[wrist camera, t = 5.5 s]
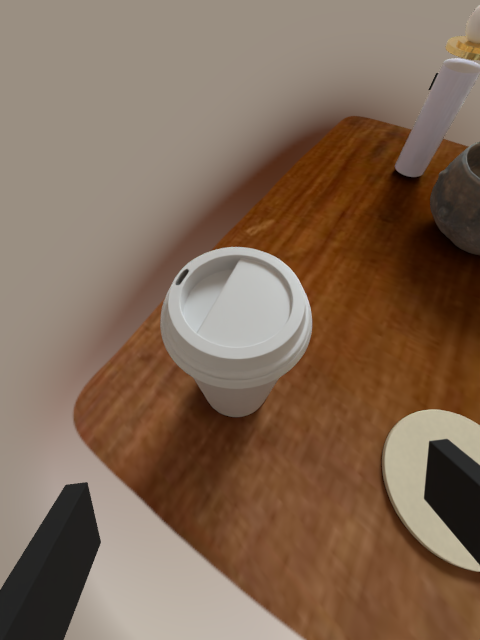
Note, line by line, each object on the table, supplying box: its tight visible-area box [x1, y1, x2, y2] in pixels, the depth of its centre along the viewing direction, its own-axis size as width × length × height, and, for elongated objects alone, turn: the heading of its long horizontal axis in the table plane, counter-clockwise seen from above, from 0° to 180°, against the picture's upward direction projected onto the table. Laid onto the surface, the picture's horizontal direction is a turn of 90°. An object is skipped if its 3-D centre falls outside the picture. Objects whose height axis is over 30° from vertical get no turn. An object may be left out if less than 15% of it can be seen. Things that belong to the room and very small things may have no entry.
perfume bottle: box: [395, 5, 480, 177], centre depth 41 cm, size 6×6×20 cm
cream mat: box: [382, 410, 480, 572], centre depth 26 cm, size 12×12×1 cm
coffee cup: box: [161, 247, 312, 417], centre depth 24 cm, size 10×10×15 cm
